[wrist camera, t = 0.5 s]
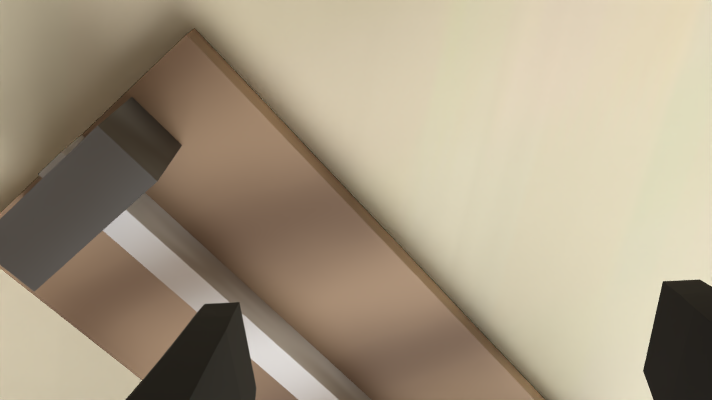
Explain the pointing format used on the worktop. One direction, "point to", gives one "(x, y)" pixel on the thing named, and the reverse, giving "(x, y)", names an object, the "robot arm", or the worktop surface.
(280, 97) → the worktop surface
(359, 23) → the worktop surface
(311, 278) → the track
